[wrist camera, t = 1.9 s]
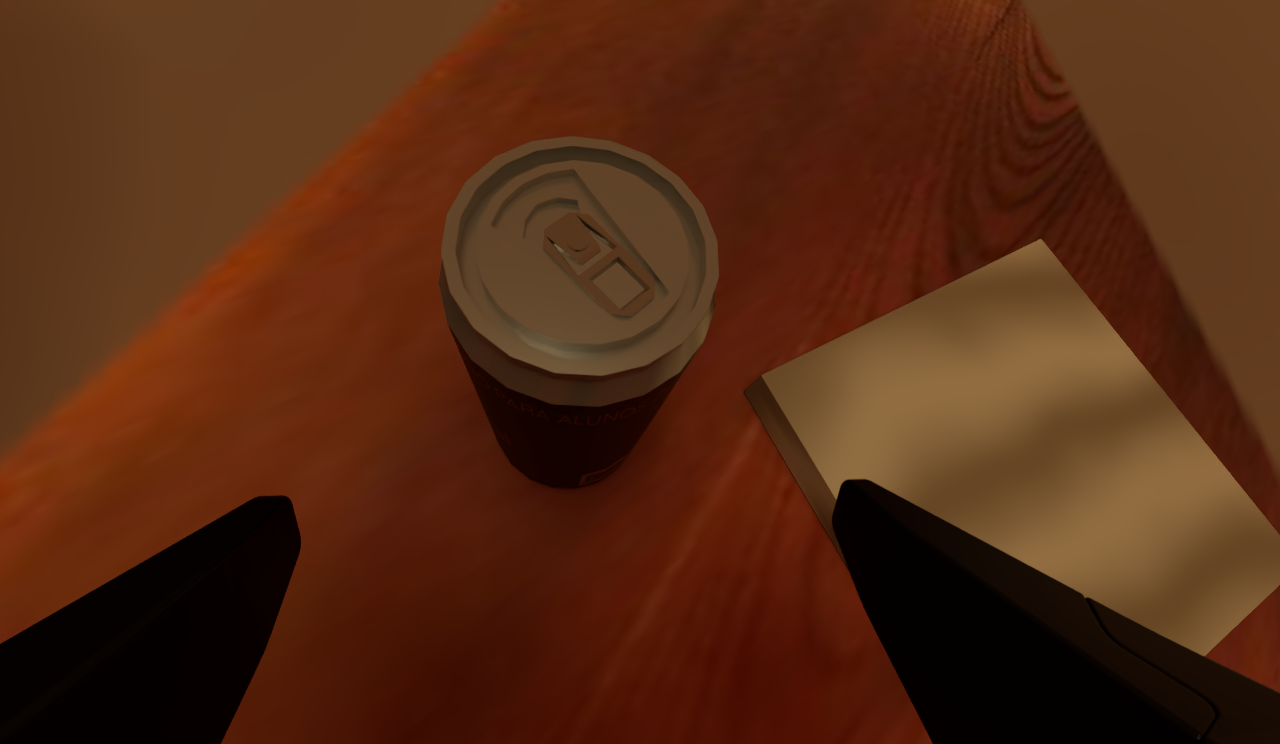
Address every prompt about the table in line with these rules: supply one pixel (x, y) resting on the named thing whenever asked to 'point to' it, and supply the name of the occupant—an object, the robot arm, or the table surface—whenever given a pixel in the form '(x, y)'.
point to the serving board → (1030, 446)
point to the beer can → (576, 299)
